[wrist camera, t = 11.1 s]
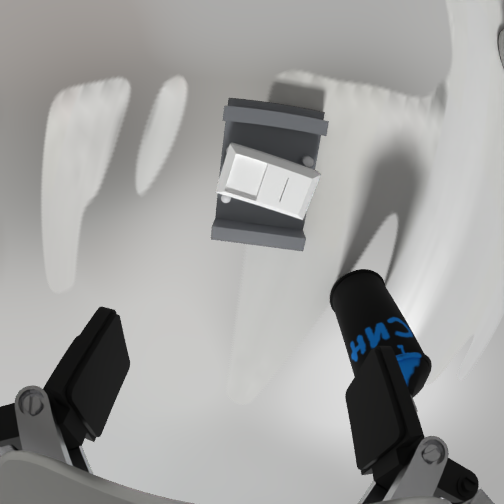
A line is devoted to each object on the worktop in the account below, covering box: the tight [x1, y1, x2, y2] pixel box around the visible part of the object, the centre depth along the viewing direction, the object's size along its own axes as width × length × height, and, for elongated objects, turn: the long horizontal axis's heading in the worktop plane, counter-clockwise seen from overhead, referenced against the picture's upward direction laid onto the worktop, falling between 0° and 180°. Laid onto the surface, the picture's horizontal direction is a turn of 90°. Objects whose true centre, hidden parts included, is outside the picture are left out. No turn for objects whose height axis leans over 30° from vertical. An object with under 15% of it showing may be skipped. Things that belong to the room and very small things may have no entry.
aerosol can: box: [330, 269, 432, 412], centre depth 28 cm, size 8×8×20 cm
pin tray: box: [211, 98, 329, 251], centre depth 29 cm, size 16×10×4 cm, turn 173°
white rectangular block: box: [216, 143, 321, 220], centre depth 27 cm, size 5×9×3 cm, turn 72°
